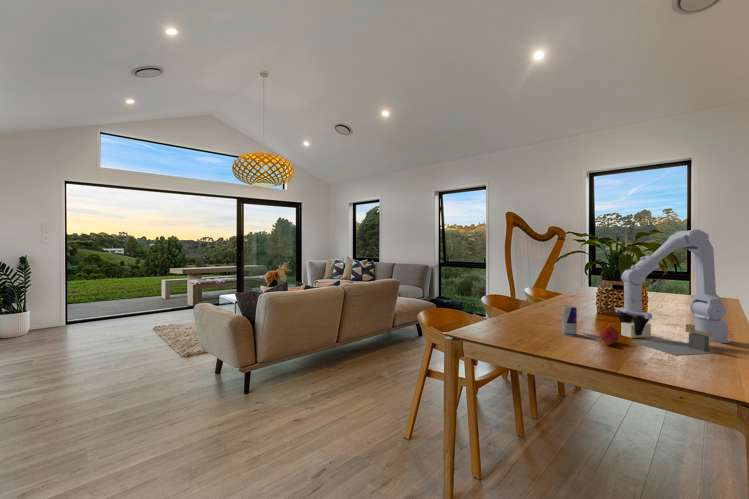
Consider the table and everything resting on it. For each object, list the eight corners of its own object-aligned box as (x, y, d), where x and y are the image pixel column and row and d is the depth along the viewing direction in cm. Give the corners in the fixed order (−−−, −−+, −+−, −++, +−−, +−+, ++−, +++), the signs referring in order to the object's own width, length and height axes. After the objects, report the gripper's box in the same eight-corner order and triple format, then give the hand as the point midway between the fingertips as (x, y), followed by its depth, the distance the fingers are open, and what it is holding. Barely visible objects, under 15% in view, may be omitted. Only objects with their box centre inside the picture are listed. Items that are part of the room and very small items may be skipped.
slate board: (667, 341, 137) (667, 325, 137) (720, 355, 119) (720, 337, 119) (627, 343, 134) (627, 327, 134) (675, 357, 116) (675, 339, 116)
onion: (596, 343, 134) (596, 322, 134) (610, 342, 134) (610, 322, 134) (607, 347, 128) (608, 326, 128) (622, 347, 129) (622, 325, 128)
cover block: (640, 334, 143) (640, 321, 143) (650, 336, 139) (650, 324, 139) (621, 334, 142) (621, 322, 142) (631, 337, 137) (631, 325, 137)
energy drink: (578, 337, 143) (578, 307, 143) (564, 336, 144) (564, 307, 144) (573, 333, 148) (574, 305, 148) (560, 333, 149) (560, 305, 149)
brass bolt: (690, 331, 126) (690, 324, 126) (715, 336, 118) (715, 329, 118) (685, 331, 126) (685, 324, 126) (710, 337, 118) (710, 329, 118)
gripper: (609, 297, 146) (608, 329, 146) (641, 302, 132) (640, 338, 132) (623, 296, 148) (623, 329, 148) (656, 302, 133) (656, 337, 133)
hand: (632, 333), depth 140 cm, fingers closed on cover block, 4 cm apart
